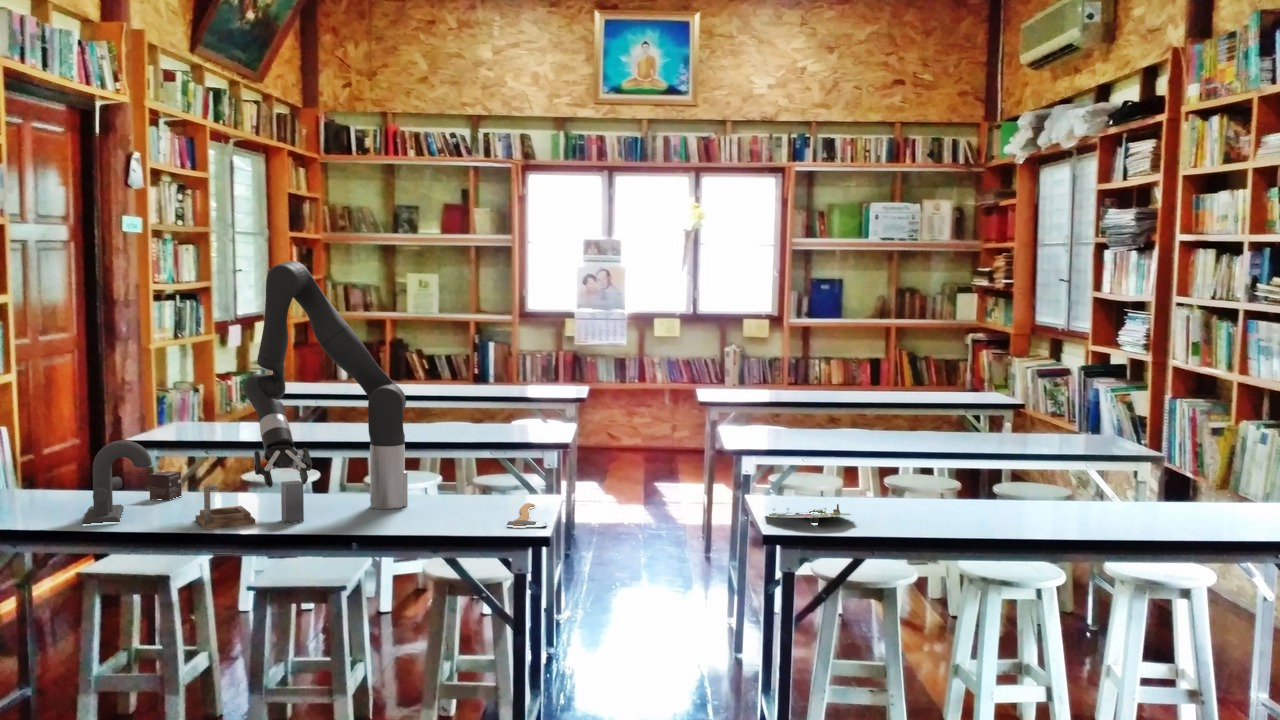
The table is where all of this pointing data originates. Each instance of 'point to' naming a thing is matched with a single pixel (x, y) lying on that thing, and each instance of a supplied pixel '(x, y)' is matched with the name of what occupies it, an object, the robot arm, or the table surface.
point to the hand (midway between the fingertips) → (287, 484)
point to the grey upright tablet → (292, 501)
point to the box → (165, 485)
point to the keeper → (222, 514)
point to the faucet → (111, 479)
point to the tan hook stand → (523, 517)
